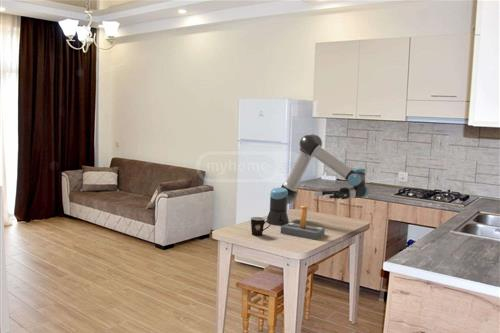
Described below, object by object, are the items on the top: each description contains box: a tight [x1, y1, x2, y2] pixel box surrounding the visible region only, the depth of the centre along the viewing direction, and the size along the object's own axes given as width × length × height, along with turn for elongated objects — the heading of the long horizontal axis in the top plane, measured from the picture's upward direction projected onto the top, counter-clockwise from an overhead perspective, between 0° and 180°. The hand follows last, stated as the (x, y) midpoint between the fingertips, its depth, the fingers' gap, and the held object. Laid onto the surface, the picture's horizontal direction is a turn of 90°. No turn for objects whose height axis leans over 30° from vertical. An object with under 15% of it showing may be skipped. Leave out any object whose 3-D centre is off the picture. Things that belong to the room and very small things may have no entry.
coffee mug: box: [250, 216, 271, 237], centre depth 271 cm, size 12×9×10 cm
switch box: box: [280, 222, 326, 241], centre depth 278 cm, size 24×14×4 cm, turn 62°
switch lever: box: [299, 205, 309, 228], centre depth 277 cm, size 4×4×16 cm
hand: (318, 195), depth 281 cm, fingers open, 13 cm apart
